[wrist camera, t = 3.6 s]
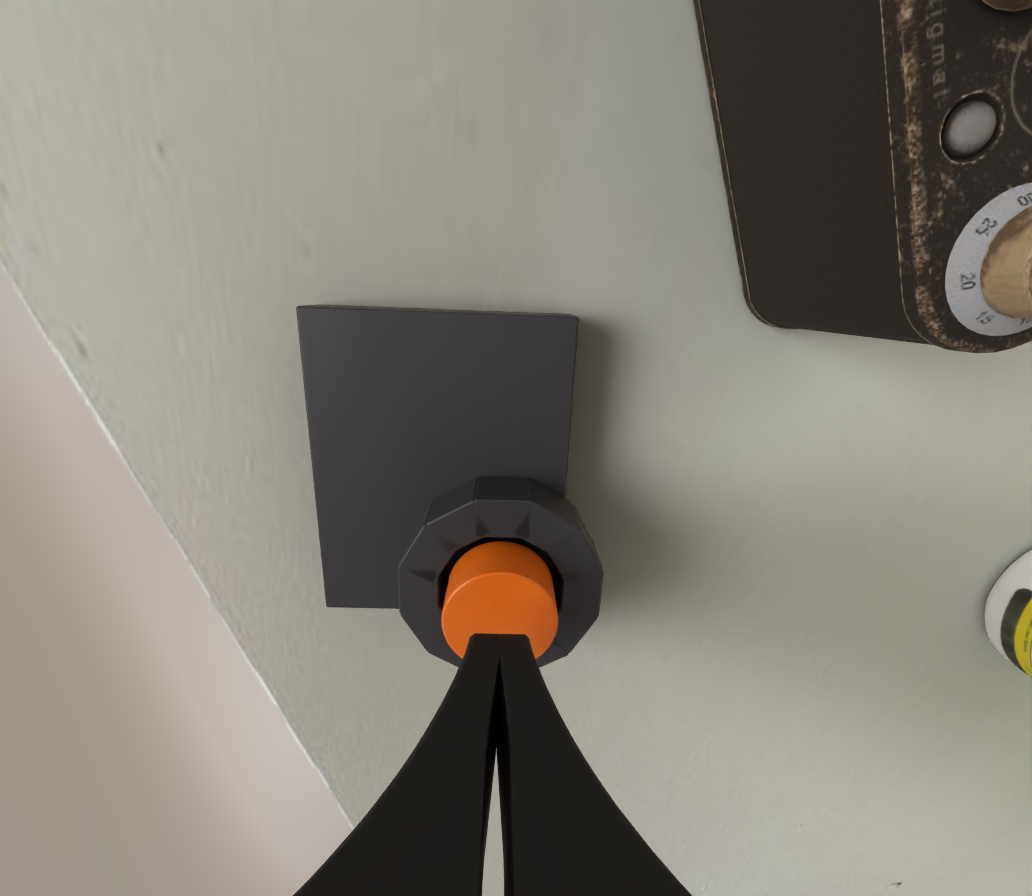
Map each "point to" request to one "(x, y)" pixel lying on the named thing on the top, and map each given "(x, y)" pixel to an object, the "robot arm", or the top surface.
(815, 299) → the camera
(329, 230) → the top surface
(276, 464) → the top surface
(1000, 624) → the pill bottle
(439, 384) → the push button switch
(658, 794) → the top surface
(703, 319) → the top surface
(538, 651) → the switch button
